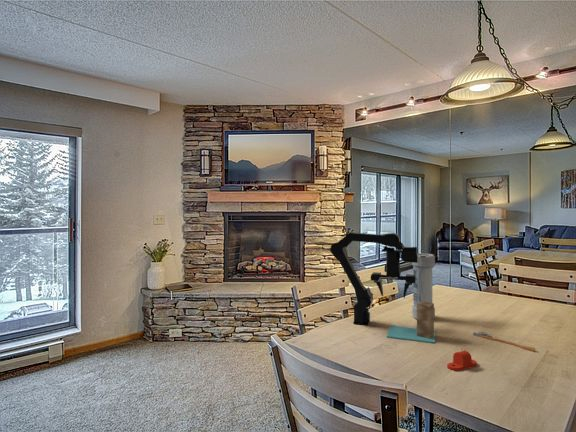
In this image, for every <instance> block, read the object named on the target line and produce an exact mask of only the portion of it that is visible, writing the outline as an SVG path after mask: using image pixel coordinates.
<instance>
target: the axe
mask: <svg viewBox="0 0 576 432" xmlns="http://www.w3.org/2000/svg"><path fill="white" fill-rule="evenodd" d="M472 335H473V336H475V337H478V338H482V339H486V340H490V341H494V342H500V343H503V344H507V345H510V346H514V347H518V348H520V349H522V350H525V351H528V352H534V353H536V348H535V347H531V346H526V345H522V344H518V343H515V342H511V341H508V340H504V339H500V338H495V337H493V335H492V334H490V333H487V332H486V331H485V332H484V331H478V332H475V331H473V333H472Z"/></svg>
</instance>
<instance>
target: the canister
mask: <svg viewBox="0 0 576 432" xmlns="http://www.w3.org/2000/svg"><path fill="white" fill-rule="evenodd" d="M417 254H418V263H411V265H412V267H413V269H412V275H415V276H416V282H415V283H412V287H413V288H412V290H413V291H412V293H413V294H412V298H413V299H412V300H413V305H412V307H411V308H412V312H411V314H412V317H413V319H416V320H417V303H419V302H421V301H423V302H429V303H433V269H434V267H435V266H436V263H435V262H436V257H435V254H432V253H420V252H419V253H417ZM435 316H436V309H435V307H434V319H435V318H436V317H435Z"/></svg>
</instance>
